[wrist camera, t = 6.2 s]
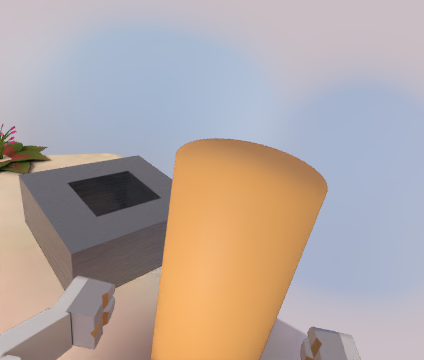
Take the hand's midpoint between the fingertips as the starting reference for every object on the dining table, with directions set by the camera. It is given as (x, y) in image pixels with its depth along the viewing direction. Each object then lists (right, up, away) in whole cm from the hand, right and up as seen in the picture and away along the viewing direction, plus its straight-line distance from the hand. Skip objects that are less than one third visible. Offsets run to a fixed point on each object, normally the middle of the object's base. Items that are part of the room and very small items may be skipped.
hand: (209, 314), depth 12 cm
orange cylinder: (-2, -8, +3) cm, 9 cm away
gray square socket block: (-10, 0, +17) cm, 19 cm away
